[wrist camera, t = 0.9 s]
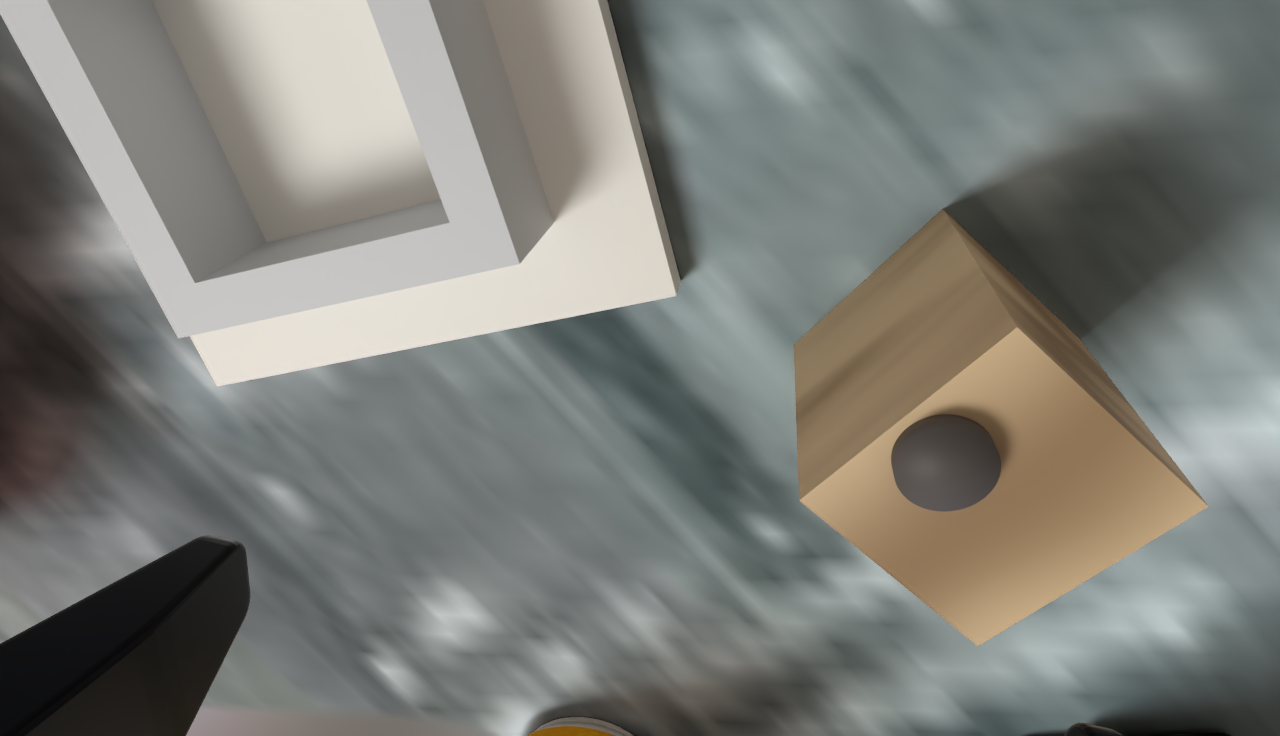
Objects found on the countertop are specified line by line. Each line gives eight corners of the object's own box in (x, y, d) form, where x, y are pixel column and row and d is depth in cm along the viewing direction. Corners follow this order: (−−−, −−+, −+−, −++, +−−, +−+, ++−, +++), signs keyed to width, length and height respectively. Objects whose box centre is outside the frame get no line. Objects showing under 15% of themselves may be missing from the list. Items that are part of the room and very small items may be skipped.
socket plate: (680, 281, 21) (661, 347, 18) (237, 371, 25) (147, 440, 21) (505, -388, 16) (427, -485, 12) (-37, -150, 19) (-221, -172, 16)
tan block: (1080, 339, 21) (1219, 520, 14) (923, 457, 23) (982, 661, 16) (942, 208, 20) (1023, 337, 13) (793, 344, 22) (799, 513, 15)
